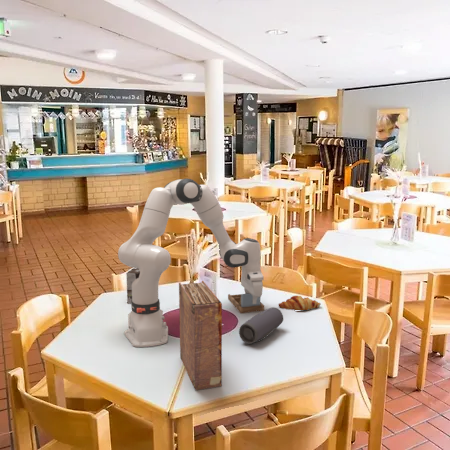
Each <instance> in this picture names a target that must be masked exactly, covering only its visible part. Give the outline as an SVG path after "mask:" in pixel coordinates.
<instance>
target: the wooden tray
mask: <svg viewBox="0 0 450 450" xmlns="http://www.w3.org/2000/svg"><path fill="white" fill-rule="evenodd" d="M241 294H242V293H241ZM241 294H230V293H229V294H227V299H228V301H229V302H230V303H231V304H232V306H234V308H236V310H237V311H238V312H239V313H240V314H244V313H252V312H253V313H254V312H255V313H256V312H263V311H265V305H264V303H262V302H261V301H260V305H258V306H249V307H241V304H239V302H240V298H241Z"/></svg>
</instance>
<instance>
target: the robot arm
mask: <svg viewBox="0 0 450 450" xmlns="http://www.w3.org/2000/svg"><path fill="white" fill-rule="evenodd" d="M187 204H190V205H191V206H192V207H193V208H194V211H195V212H196V214H197V216H198V218H199V219H200V221H201V222H202V223H203V225H204V226H205V227H207V228H208V229H210V231H211V233H212V234H213V236H214V238H215V240H216V242H217V244H219V245H218V253H219V256H220V258H221V259H222V261H223V262H224V264H225V265H226V266H227V267H229V268H239V267H241V275H240V276H241V277H240V283H241V286H242V287H243V288H244V289H243V290H244V294H248V293H250V294H251V295H253V296H252V297H253V299H252V303H253V304H256V302H257V298H258V297H262V296H263V286H264V285H263V281H264V274H263V273H262V270H261V269H262V268H261V258H262V257H261V254H262V251H261V249H262V248H261V244H260V242H259V241H258V240H256V239H255V238H250V237H247V238H243V239H242V240H241V241H239V242H238V243H236V242H235V241H234V240H232V238H231V237H230V236H229V233H228V232H227V229H226V227H225V225H224V213H223V209H222V207H221V204H220V203H219V200H218V198H217V197H216V196H215V193H213V191H212V190H211V188H210V187H209V186H208V185H207V184H199V183H198V182H197V181H195V180H194V179H191V178H182V179H181V178H180V179H176V180H172V181H170V182H168V183H167V184H166V185H165V186H164V187H160V186H159V187H155V188H153V189H152V190H151V192H150V193H149V195H148V196H147V200H146V202H145V205H144V207H143V211H142V214H141V216H140V219H139V224H138V226H137V228H136V230H135V231H134V232H133V234H132V236H131V237H130V238H128V240H126V241H125V242H123V243H122V244H121V245H120V246H119V248H118V251H117V257H118V260H119V261H120V263H122V264H123V265H125V266H127V267H129V268H132V269H133V268H138V269H139V270H140V275H139V278H137V279H136V280H135V281H134V282H133V283H132V301H131V303H130V307H131V308H130V309H131V311H130V312H129V313H128V315H127V317H128V318H127V321H128V324H127V325H128V326H127V328H128V329H126V330H124V333H123V334H124V336H126V338H127V340H129V343H131V345H132V346H133V347H134V348H146V347H147V348H148V347H156V346H160V345H164V344H166V343H167V344H168V337H169V336H168V335H169V327H168V325H167V322H166V321H164V320H166V319H165V316H164V314H163V313H164V311H163V310H162V309H161V302H160V298H159V284H160V283H159V282H160V278H161V276H162V274H163V273H164V272H165V271H166V270H168V268H169V267H170V265H171V260H172V259H171V254H170V252H169V250H167V249H165V248H164V247H162V246H159V245H155V244H153V243H154V242H155V240H157V238H160V237H161V236H163V235H164V233H165V232H166V228H167V225H168V222H169V217H170V214H171V210H172V208H173V206H176V205H177V206H178V205H180V206H181V205H183V206H184V205H187ZM219 249H220V250H219Z"/></svg>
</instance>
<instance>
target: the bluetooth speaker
mask: <svg viewBox="0 0 450 450" xmlns="http://www.w3.org/2000/svg"><path fill="white" fill-rule="evenodd" d="M283 322H284V315H283V312H282V311H281V310H280V309H279V308H278V307H275V306H273V307H269V308H267V309H264V311H260V312H258V314H256V315H253V316H252V317H251V318H250V319H248V320H246V321H245V322H244V323H243V324H241V326H240V327H239V330H238V334H239V338H240V339H241V341H243V342H244V343H245V344H249V345H251V344H254V343H257V342H260V341H262V340H263V338H264V337H265V338H266V337H268V336H269V335H270V334H271V333H272V332H273V331H275V330H276V329H277V328H278V327H279V326H281V325H282V323H283ZM267 335H268V336H267ZM265 338H264V339H265ZM261 339H262V340H261ZM259 340H260V341H259Z"/></svg>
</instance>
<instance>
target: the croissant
mask: <svg viewBox="0 0 450 450" xmlns="http://www.w3.org/2000/svg"><path fill="white" fill-rule="evenodd" d="M278 307H279V308H281V309H286V310H290V311H291V310H292V311H295V310H307V311H309V310H310V309H311V310H313V309H312V308H314V309H318V308H319V307H321V302H318V301H317V300H316V299H315V300H313V299H310V298H309V297H304V298H303V297H302V296H301V295H292V296H290V298H288V299H286V300H285V301H282V302H279V303H278ZM308 309H309V310H308Z"/></svg>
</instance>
